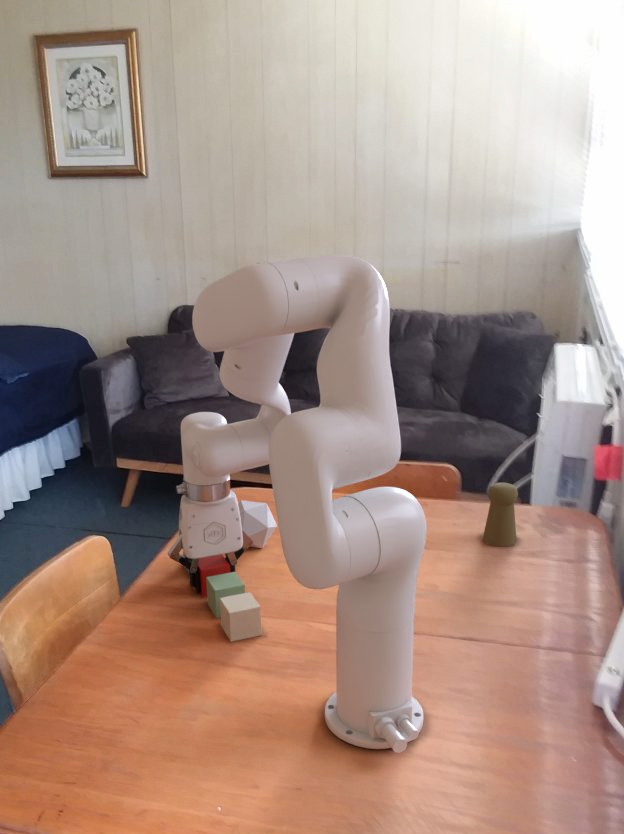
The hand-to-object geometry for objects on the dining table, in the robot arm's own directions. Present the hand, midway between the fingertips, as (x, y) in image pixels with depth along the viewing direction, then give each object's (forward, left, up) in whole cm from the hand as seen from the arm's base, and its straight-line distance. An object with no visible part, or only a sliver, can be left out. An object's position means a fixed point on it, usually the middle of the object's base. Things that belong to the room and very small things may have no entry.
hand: (212, 585), depth 144 cm
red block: (0, 0, 0) cm, 0 cm away
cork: (-3, -55, -1) cm, 55 cm away
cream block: (-15, 0, 0) cm, 15 cm away
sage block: (-8, 0, 0) cm, 8 cm away
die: (+14, -12, -1) cm, 18 cm away
